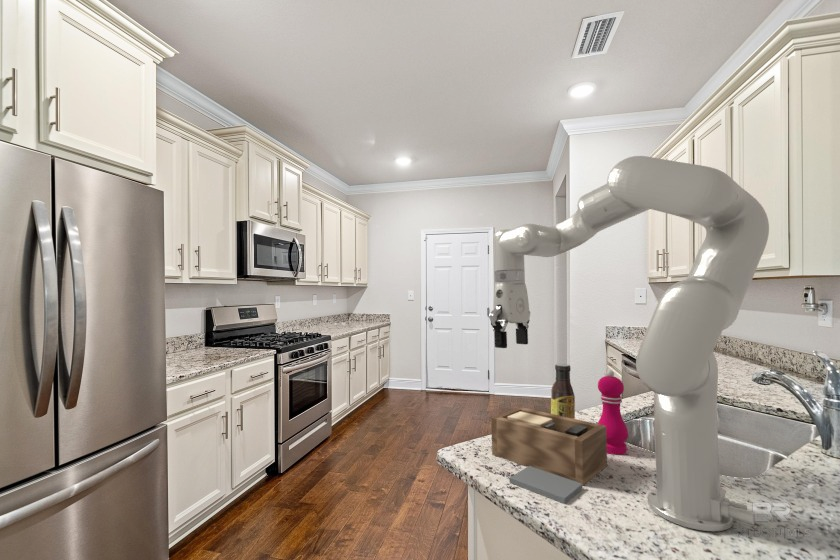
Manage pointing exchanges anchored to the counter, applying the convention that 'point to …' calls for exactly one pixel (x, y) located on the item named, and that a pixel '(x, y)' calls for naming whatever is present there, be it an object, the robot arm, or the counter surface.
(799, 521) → the counter surface
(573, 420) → the wooden box
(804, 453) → the counter surface
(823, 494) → the counter surface
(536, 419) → the maple block
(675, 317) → the robot arm
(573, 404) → the sauce bottle
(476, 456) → the counter surface
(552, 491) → the slate board
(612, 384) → the pepper mill
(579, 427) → the rocker
